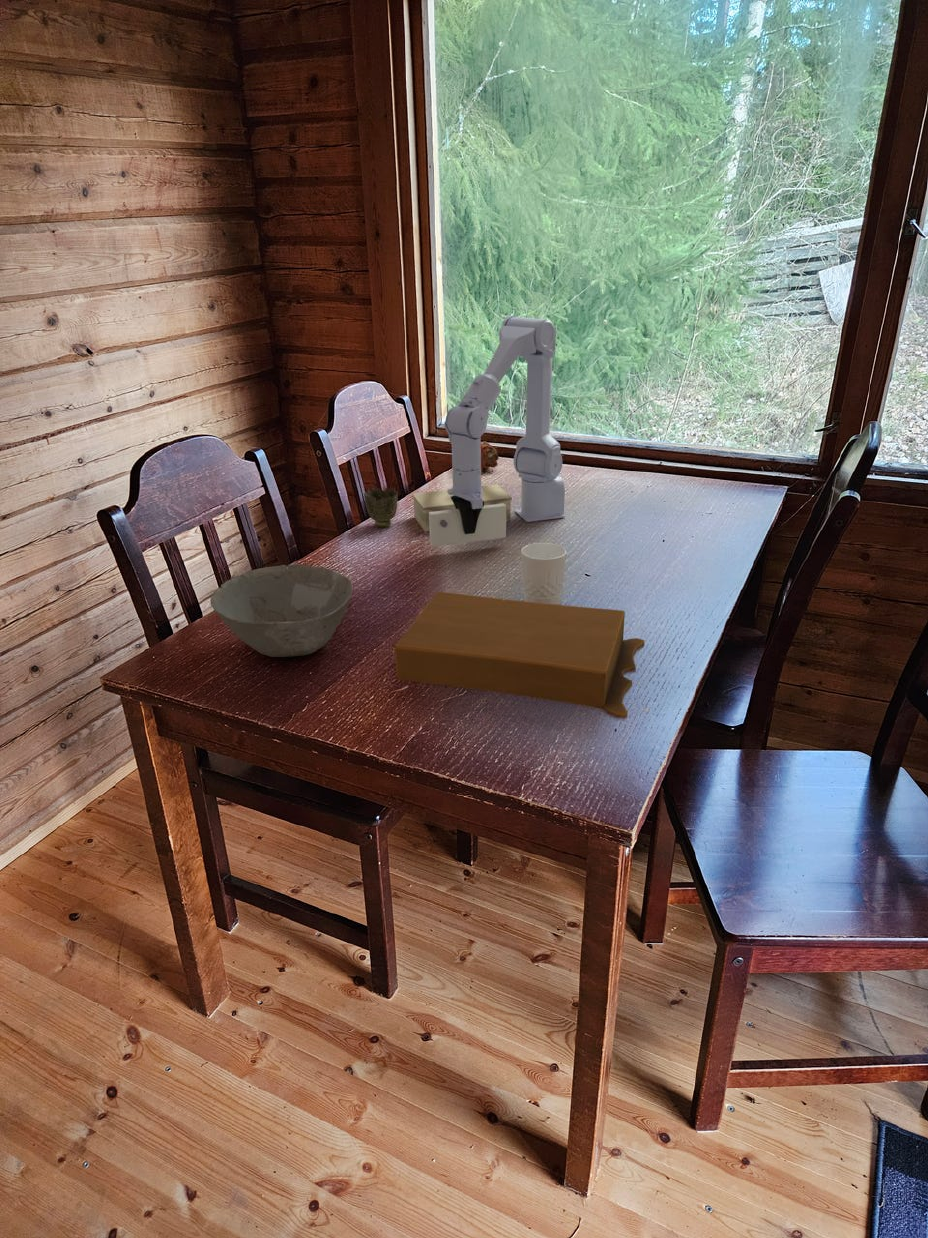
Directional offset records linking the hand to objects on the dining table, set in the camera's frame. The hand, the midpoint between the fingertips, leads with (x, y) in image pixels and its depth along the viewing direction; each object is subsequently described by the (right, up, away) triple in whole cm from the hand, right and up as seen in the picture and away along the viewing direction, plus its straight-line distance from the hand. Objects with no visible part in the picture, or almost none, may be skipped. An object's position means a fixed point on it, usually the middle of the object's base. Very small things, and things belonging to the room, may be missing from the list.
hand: (468, 531), depth 172 cm
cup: (-19, +3, +16) cm, 25 cm away
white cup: (+13, -15, -22) cm, 29 cm away
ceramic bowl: (-30, -23, -35) cm, 51 cm away
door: (0, -2, +1) cm, 2 cm away
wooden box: (+9, -26, -41) cm, 49 cm away
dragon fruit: (+3, +22, +53) cm, 57 cm away
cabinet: (-1, +4, +17) cm, 17 cm away
